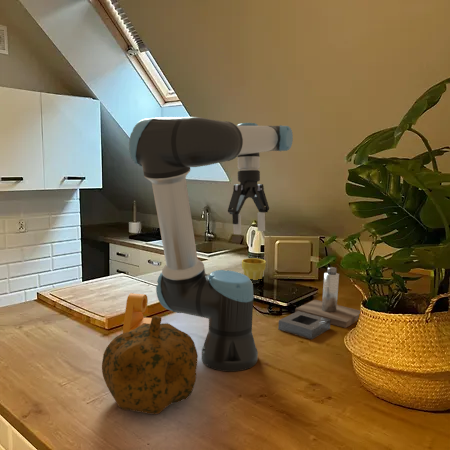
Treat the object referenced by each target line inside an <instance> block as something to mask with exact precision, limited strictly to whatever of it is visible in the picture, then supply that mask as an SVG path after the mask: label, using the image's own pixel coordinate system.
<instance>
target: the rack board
mask: <svg viewBox="0 0 450 450" xmlns="http://www.w3.org/2000/svg"><path fill="white" fill-rule="evenodd" d="M297 311H300V312H304V313H307V314H311V315H315V316H319V317H322V318H326V319H330V320H331V322H330V325H333V326H337V327H341V328H345V329H347V328H349V327H350V326H351V325H352V324H355V323H356V322H358V321H359V320H358V318H359V314H360V311H361V310H359V309H356V308H352V307H348V306H343V305H339V304H337V311H336V312H325V311H323V310H322V300H318V299H313V300H311V301H309V302H306V303H304V304H301V306H298V307H296V308H295V309H294V313H295V312H297ZM357 320H358V321H357ZM355 321H356V322H355Z"/></svg>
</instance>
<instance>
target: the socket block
mask: <svg viewBox="0 0 450 450" xmlns="http://www.w3.org/2000/svg"><path fill="white" fill-rule="evenodd" d="M330 322H331V320H330V319H326V318H322V317H319V316H315V315H311V314H307V313H304V312H300V311H297V312H295V311H294V312H293V313H291V314H289V315H287V316H284V317H282V318H280V319H278V328H277V329H278V330H279V331H283V332H286V333H289V334H293V335H296V336H298V337H299V336H300V337H303V338H305V339H309V340H314V339H315V338H317V337H319V336H320V335H321V334H324V333H326V331H328V330H329V331H330V330H331V324H330Z"/></svg>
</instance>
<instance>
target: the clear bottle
mask: <svg viewBox="0 0 450 450" xmlns="http://www.w3.org/2000/svg"><path fill="white" fill-rule="evenodd" d="M326 269H327V270H326V271H325V272H324V273H323V285H322V287H323V288H322V300H321V301H322V310H323V311H325V312H336V311H337V305H338V295H339V293H338V292H339V280H340V273H337V267H335V266H334V267H333V266H328V267H327V268H326Z"/></svg>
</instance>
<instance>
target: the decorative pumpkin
mask: <svg viewBox="0 0 450 450" xmlns="http://www.w3.org/2000/svg"><path fill="white" fill-rule="evenodd" d="M151 318H152V320H151V324H143V325H140V326H139V327H137V328H135V329H134V330H132V331H129V332H126V333H123V332H122V333H121V334H119V335H117V336H115V337H114V338H113V339H112V341H111V342H110V343H109V344H108V345H107V346H106V348H105V350H104V352H103V354H102V355H103V356H102V360H101V361H102V362H101V371H102V377H103V380H104V382H105V384H106V388H107V389H108V391H109V393H110V394H111V396H112V397H113V399H114V400H115V401H114V402H115V403H116V404H117V406H118V407H119V408H120V409H121V410H124V411H133V412H137V413H141V414H142V413H143V414H150V415H159V414H160V413H162V412H163V411H164V410H165V409H166V408H167V407H169V406H170V405H171V404H177V403H179V402H180V403H181V402H183V401H186V399H188V398H189V397H190V396H191V394H192V393H193V390H194V387H195V384H196V379H197V367H198V352H197V348H196V345H195V342H194V340H193V338H192V336H190V335H189V334H188V333H186V332H184V331H182V330H181V329H178V328H177V327H175V326H174V325H172V324H170V323H168V322H166V323H163V322H162V317H161V316H159V315H153V316H151Z"/></svg>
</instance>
